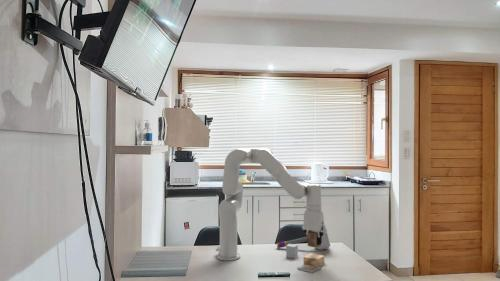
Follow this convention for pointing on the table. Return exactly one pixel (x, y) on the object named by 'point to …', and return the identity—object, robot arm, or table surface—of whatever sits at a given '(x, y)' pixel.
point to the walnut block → (312, 239)
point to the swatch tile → (309, 268)
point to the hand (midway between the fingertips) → (314, 243)
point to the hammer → (324, 244)
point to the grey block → (292, 250)
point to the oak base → (314, 260)
